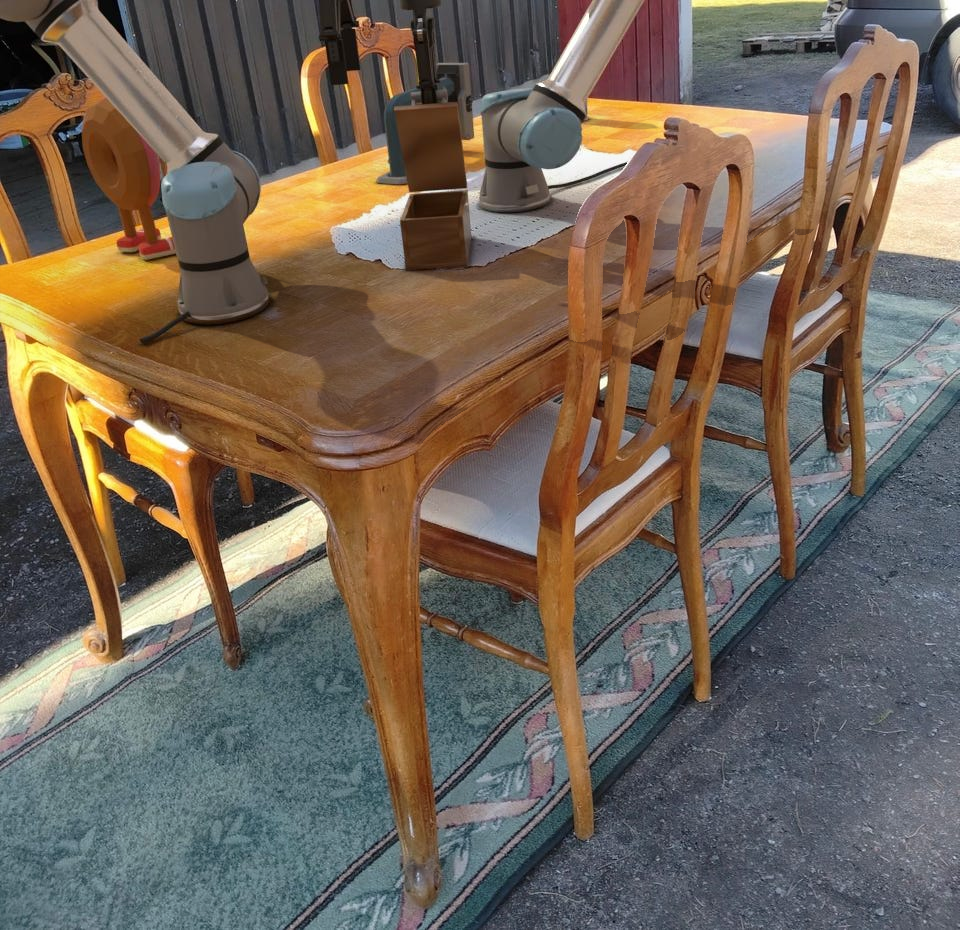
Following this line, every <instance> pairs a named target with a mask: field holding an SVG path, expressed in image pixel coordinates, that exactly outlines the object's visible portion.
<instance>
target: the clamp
mask: <svg viewBox="0 0 960 930" xmlns="http://www.w3.org/2000/svg"><path fill="white" fill-rule="evenodd" d="M436 71H437V78H436V79H440V83H437V90H447V95H448V101H447V102H446V103H450V102H457V104H458V112H459V121H460V129H461V137H462V141H470V140H473V139H474V138H475V128H474V114H473V113H474V112H473V101H472V99H473V98H472V88H471V87H472V86H471V74H470V63H469V62H438V63H436ZM435 85H436V84H435ZM411 92H421V89H417V88H416V87H413V88H411V89H407V90H404V91H402V92H399V93H397V94H394V95H393V96H392V97H391V98H390V99H389V100H388V102H387V104H386V105H385V107H384V112H383V123H384V132H385V139H386V147H387V156H388V159H387V163H388V165H389V171H388V172H386V173H384V174H381V175H379V176H377V178H376V181H375V182H376V183H377V184H387V185H388V184H389V185H406V184H408V183H407V178H406V172H405V167H404V161H403V156H402V150H401V145H400V140H399V134H398V129H397V123H396V118H395V112H394V107H397V106H410V105H412V103H411ZM439 103H442V102H439ZM416 105H422V104H416Z"/></svg>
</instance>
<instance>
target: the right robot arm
mask: <svg viewBox="0 0 960 930" xmlns="http://www.w3.org/2000/svg"><path fill="white" fill-rule="evenodd" d="M398 2H399V3H398V5H399V8H400V9H401V10H403V11H413V19H412V20H410V31H411V35H412V39H413V47H414V53H415V61H416V70H417V71H416V72H417V77H418V82H417V85H416V86H415V88H417V89H421V99H422V105H424V104H437V103H439V102H437V96H436V90H437V83H440V79H436V78H437V71H436V64H437V60H436V46H435V43H436V34H435V27H436V21H435V18H434V17H431V9H436V8H439V7H441V6H442V5H443V0H399V1H398ZM644 2H645V0H592V1H591V2H590V4H589V6H588V7H587V9H586V11H585V12H584V15H583V16H582V18H581V19H580V21H579V23H578V25H577V27H576V28H575V30H574V32H573V34H572V36H571V37H570V39H569V41H568V43H567V44H566V46H565V48H564V50H563V51H562V53H561V55H560V56H561V57H560V56H559V58H558V60H557V62H556V63H555V66H554V67H553V69H552V71H551V72H550V74H549V76H548V77H547V79H546V80H543V81H540V82H536V83H535V84H534V86H533V87H526V88H525V87H524V88H516V89H507V90H501V91H495V92H490V93H487V94H485V95H483V96H482V98H481V102H480V109H481V110H480V116H481V126H482V127H481V128H482V129H481V130H482V140H483V154H484V167H485V168H484V173H483V177H482V182H481V186H480V190H479V195H478V196H479V198H478V202H479V207H480V208H482V209H484V210H485V211H490V212H494V213H520V212H521V213H522V212H526V211H532V210H533V211H534V210H536V209H540V208H543V207H544V206H546V205H548V204H549V203H550V202H551V194H550V190H551V189H552V190H553V189H561V188H566V187H571V186H574V185H577V184H580V183H584V182H587V181H589V180H593V179H595V178H597V177H600V176H603V175H605V174H606V173H607V174H608V173H611V172H612V171H615V170H618V169H620V168H624V167H626V166H625V165H626V164H627V162H628V161H625V162H622V163H619V164H617V165H614V166H611V167H608V168H605V169H603V170H600V171H599V172H596V173H593V174H591V175H588V176H585V177H582V178H579V179H575V180H572V181H569V182H564V183H560V184H549V185H548V183H547V180H546V177H545V174H544V172H543V170H556V169H559V168H562V167H564V166H565V165H567V164H568V163H570V162H571V161H572V160H573V159H574V158H575V157H576V155H577V154H578V152H579V150H580V148H581V145H582V142H583V135H582V131H583V127H582V124H583V122H584V119H585V117H586V115H587V116H588V113H587V114H586V110H585V102H586V100H587V101H588V99H589V97H590V95H591V93H592V91H593V90H594V89H595V87H596V85H597V84H598V82H599V79H600V78H601V76H602V74H603V73H604V71H605V69H606V67H608V64H609V63H610V61H611V59H612V57H613V55H614V53H615V52H616V50H617V48H618V46H619V45H620V44H621V42H622V40H623V39H624V36H625V35H626V33H627V31H628V30H629V28H630V26H631V24H632V23H633V21H634V19H635V17H636V16H637V14H638V12H639V10H640V9H641V7H642V6H643V4H644ZM435 84H436V85H435Z"/></svg>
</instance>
